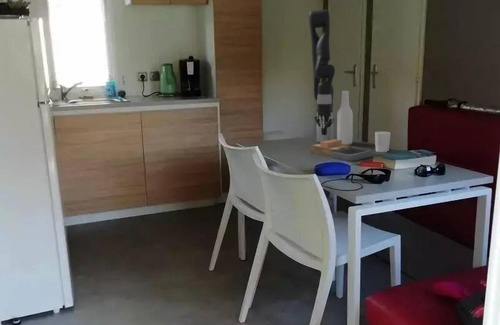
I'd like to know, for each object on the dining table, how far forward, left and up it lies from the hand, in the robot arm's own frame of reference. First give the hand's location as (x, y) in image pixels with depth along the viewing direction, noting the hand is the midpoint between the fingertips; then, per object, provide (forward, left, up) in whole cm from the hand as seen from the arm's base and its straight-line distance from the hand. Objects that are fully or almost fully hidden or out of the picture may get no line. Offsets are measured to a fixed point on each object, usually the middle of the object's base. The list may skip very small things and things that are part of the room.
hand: (324, 134), depth 278 cm
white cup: (-20, +24, -9) cm, 32 cm away
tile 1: (+5, +8, -5) cm, 10 cm away
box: (+2, +22, -9) cm, 23 cm away
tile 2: (-1, +8, -5) cm, 9 cm away
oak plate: (+2, +8, -9) cm, 12 cm away
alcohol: (-22, -4, -9) cm, 24 cm away
